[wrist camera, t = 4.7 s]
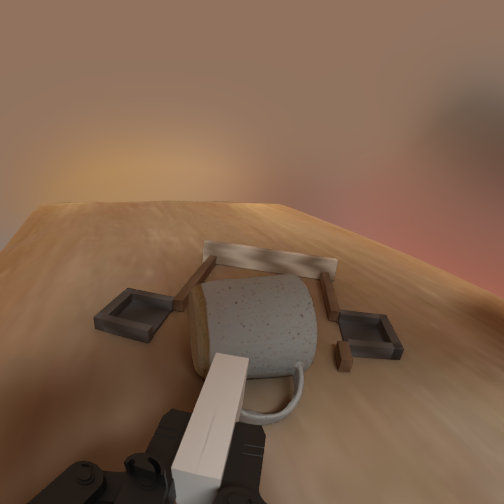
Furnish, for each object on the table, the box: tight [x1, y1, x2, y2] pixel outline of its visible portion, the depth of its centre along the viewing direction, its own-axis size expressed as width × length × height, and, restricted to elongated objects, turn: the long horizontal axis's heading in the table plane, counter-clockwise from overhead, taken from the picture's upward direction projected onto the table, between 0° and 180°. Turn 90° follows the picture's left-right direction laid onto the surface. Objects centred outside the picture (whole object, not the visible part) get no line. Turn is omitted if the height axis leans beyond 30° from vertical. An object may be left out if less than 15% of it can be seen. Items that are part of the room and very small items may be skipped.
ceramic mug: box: [188, 274, 317, 425], centre depth 21 cm, size 11×8×8 cm
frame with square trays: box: [94, 240, 404, 372], centre depth 35 cm, size 28×23×3 cm
